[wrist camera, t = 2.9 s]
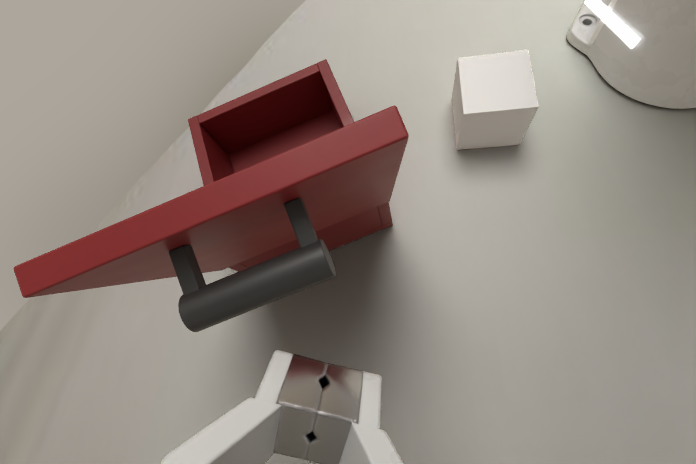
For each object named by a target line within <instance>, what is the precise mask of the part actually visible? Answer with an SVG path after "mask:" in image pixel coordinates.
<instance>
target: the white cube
mask: <svg viewBox="0 0 696 464" xmlns="http://www.w3.org/2000/svg"><path fill="white" fill-rule="evenodd" d="M538 107H539V106H538V100H537V95H536V89H535V84H534V78H533V73H532V67H531V62H530V56H529V51H528V49H525V50H517V51H509V52H501V53H493V54H485V55H477V56H469V57H461V58H458V60H457V67H456V73H455V80H454V87H453V94H452V110H453V120H454V131H455V141H456V150H461V149H473V148H486V147H498V146H510V145H519V144H520V142H521V140H522V138H523V136H524V134H525V132H526V130H527V129H528V127H529V125H530V123H531V121H532V119H533V117H534V115H535V113H536V111H537V109H538Z"/></svg>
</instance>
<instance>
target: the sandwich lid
mask: <svg viewBox="0 0 696 464" xmlns="http://www.w3.org/2000/svg"><path fill="white" fill-rule="evenodd" d="M407 140H408V133H407V130H406V128H405V125H404V123H403V121H402V118H401V116H400V114H399V111H398V109H397V107H396V106H392V107H389V108H387V109H385V110H382V111H380V112H377V113H375V114H373V115H370V116H368V117H366V118H363V119H361V120H359V121H356V122H354V123H352V124H349V125H347V126H345V127H342V128H340V129H337V130H335V131H333V132H330V133H328V134H326V135H323V136H321V137H319V138H316V139H314V140H312V141H309V142H307V143H304V144H302V145H300V146H297V147H295V148H293V149H290V150H288V151H286V152H283V153H281V154H279V155H276V156H274V157H272V158H269V159H267V160H264V161H262V162H260V163H257V164H255V165H253V166H250V167H248V168H246V169H243V170H241V171H239V172H236V173H234V174H232V175H229V176H227V177H224V178H222V179H220V180H217V181H215V182H213V183H210V184H208V185H206V186H203V187H201V188H199V189H196V190H194V191H191V192H189V193H187V194H184V195H182V196H180V197H177V198H175V199H173V200H170V201H168V202H166V203H163V204H161V205H159V206H156V207H154V208H151V209H149V210H147V211H144V212H142V213H140V214H137V215H135V216H133V217H130V218H128V219H126V220H123V221H121V222H118V223H116V224H114V225H111V226H109V227H107V228H104V229H102V230H100V231H97V232H95V233H93V234H90V235H88V236H86V237H83V238H81V239H78V240H76V241H74V242H71V243H69V244H67V245H64V246H62V247H60V248H57V249H55V250H53V251H50V252H48V253H45V254H43V255H41V256H38V257H36V258H34V259H31V260H29V261H27V262H24V263H22V264H20V265H17V266H15V267H14V272H15V275H16V277H17V281H18V284H19V287H20V290H21V293H22V296H23V297H25V298H27V297H35V296H42V295H49V294H56V293H63V292H70V291H77V290H84V289H92V288H99V287H106V286H113V285H120V284H127V283H134V282H141V281H148V280H155V279H162V278H169V277H176V276H177V277H178V280H179V283H180V286H181V288H182V291H183V295H182V296H181V298H180V300H179V313H180V316H181V319H182V321H183V323H184V324H185V326H186V327H187V328H188V329H189V330H191V331H193V332H198V331H201V330H203V329H206V328H208V327H211V326H213V325H216V324H218V323H221V322H223V321H226V320H228V319H231V318H233V317H236V316H238V315H241V314H243V313H246V312H248V311H251V310H253V309H256V308H258V307H261V306H263V305H266V304H268V303H271V302H273V301H276V300H278V299H281V298H283V297H286V296H288V295H291V294H293V293H296V292H298V291H301V290H303V289H306V288H308V287H311V286H313V285H316V284H318V283H321V282H323V281H326V280H328V279H331V278H333V277H335V276H336V270H335V267H334V264H333V261H332V258H331V256H330V253H329V251H328V249H327V247H326V245H325V243H324V241H323V240H322V239H318V237H317V234H316V231H318V230H321V229H323V228H326V227H328V226H331V225H333V224H335V223H338V222H340V221H343V220H345V219H348V218H350V217H353V216H355V215H357V214H360V213H362V212H365V211H367V210H370V209H372V208H375V207H377V206H379V205H382V204H384V203H387V202H389V201H390V198H391V195H392V191H393V188H394V184H395V181H396V178H397V174H398V171H399V167H400V164H401V161H402V157H403V154H404V151H405V147H406V144H407ZM296 239H297V240H298V243H299V245H300V247H298V248H296V249H294V250H291V251H289V252H286V253H284V254H281V255H279V256H276V257H274V258H271V259H269V260H267V261H264V262H262V263H259V264H257V265H254V266H252V267H249V268H247V269H245V270H242V271H240V272H237V273H235V274H232V275H230V276H227V277H225V278H222V279H220V280H218V281H215V282H213V283H210V284H208V285H206V283H205V281H204V278H203V275H202V273H205V272H212V271H219V270H223V269H226V268H228V267H231V266H233V265H235V264H238V263H240V262H243V261H245V260H248V259H250V258H252V257H255V256H257V255H260V254H262V253H265V252H267V251H270V250H272V249H274V248H277V247H279V246H282V245H284V244H287V243H289V242H292V241H294V240H296Z"/></svg>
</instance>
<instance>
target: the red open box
mask: <svg viewBox="0 0 696 464" xmlns="http://www.w3.org/2000/svg"><path fill="white" fill-rule="evenodd" d="M188 122H189V126H190V130H191V134H192V139H193V143H194V147H195V151H196V155H197V159H198V164H199V168H200V172H201V176H202V180H203V184H204V186H206V185H208V184H210V183H213V182H215V181H217V180H220V179H222V178H224V177H227V176H229V175H232V174H234V173H236V172H239V171H241V170H243V169H246V168H248V167H250V166H253V165H255V164H257V163H260V162H262V161H264V160H267V159H269V158H272V157H274V156H276V155H279V154H281V153H283V152H286V151H288V150H290V149H293V148H295V147H297V146H300V145H302V144H304V143H307V142H309V141H312V140H314V139H316V138H319V137H321V136H323V135H326V134H328V133H330V132H333V131H335V130H337V129H340V128H342V127H345V126H347V125H349V124H352V123H354V121H353V118H352V116H351V114H350V112H349V109H348V107H347V105H346V103H345V100H344V98H343V96H342V94H341V91H340V89H339V87H338V85H337V82H336V80H335V78H334V76H333V73H332V71H331V69H330V67H329V64H328V62H327V60H326V59H325V60H323V61H321V62H319V63H317V64H314V65H312V66H310V67H307V68H305V69H303V70H300V71H298V72H296V73H294V74H291V75H289V76H287V77H284V78H282V79H280V80H278V81H275V82H273V83H271V84H268V85H266V86H264V87H262V88H259V89H257V90H255V91H252V92H250V93H248V94H246V95H243V96H241V97H239V98H236V99H234V100H232V101H229V102H227V103H225V104H223V105H220V106H218V107H216V108H213V109H211V110H209V111H207V112H204V113H202V114H200V115H198V116H195V117H192V118H190V119H188ZM392 225H393V224H392V218H391V213H390V208H389V203H388V202H387V203H384V204H382V205H379V206H377V207H375V208H372V209H370V210H367V211H365V212H362V213H360V214H357V215H355V216H353V217H350V218H348V219H345V220H343V221H340V222H338V223H335V224H333V225H331V226H328V227H326V228H323V229H321V230H318V231H316V234H317V237H318V239H322V240H323V241H324V243H325V245H326V247H327V249H328V251H330V250H332V249H335V248H337V247H340V246H342V245H345V244H347V243H350V242H352V241H355V240H357V239H360V238H362V237H365V236H367V235H369V234H372V233H374V232H377V231H379V230H382V229H384V228H387V227H389V226H392ZM298 247H300V245H299V243H298V240H297V239H296V240H294V241H292V242H289V243H287V244H284V245H282V246H279V247H277V248H274V249H272V250H270V251H267V252H265V253H262V254H260V255H257V256H255V257H252V258H250V259H248V260H245V261H243V262H240V263H238V264H235V265H233V266H231V267H229V268H231V269H233V270H236V271H238V272H240V271H242V270H245V269H247V268H249V267H252V266H254V265H257V264H259V263H262V262H264V261H267V260H269V259H271V258H274V257H276V256H279V255H281V254H284V253H286V252H289V251H291V250H294V249H296V248H298Z"/></svg>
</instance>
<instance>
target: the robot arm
mask: <svg viewBox="0 0 696 464" xmlns="http://www.w3.org/2000/svg"><path fill="white" fill-rule="evenodd" d="M567 40H568V41H569V43H570V44H572V45H573V46H574V47H575V48H577V49H578V50H580V51H581V52H583V53H584V54H586V55H587V56H588V57H589V58H590V60H591V61H592V63H593V64H594V66H595V68H596V69H597V71H598V72H599V74H600V75H601V76H602V77H603V78H604V79H605V80H606V81H607V82H608V83H609V84H610V85H611V86H612V87H614V88H615V89H616V90H618V91H619V92H621V93H623V94H624V95H626V96H628V97H630V98H632V99H635V100H637V101H640V102H643V103H646V104H649V105H654V106H658V107H665V108H675V109H689V108H696V0H585V1H584V3H583V5H582V7H581V8H580V10H579V12H578V14H577V16H576V18H575V20H574V21H573V23H572V25H571V27H570V29H569V31H568V33H567ZM381 388H382V378H381V375H378V374H373V373H369V372H365V371H363V372H362V371H361V370H357V369H352V368H348V367H344V366H340V365H335V364H331V363H325V362H322V361H318V360H315V359H311V358H307V357H304V356H300V355H296V354H291V353H288V352H284V351H280V350H277V349H276V350H275V352H274V353H273V355H272V358H271V360H270V362H269V365H268V367H267V370H266V372H265V374H264V377H263V379H262V382H261V384H260V386H259V389H258V391H257V394H256V396H255V398H251V397H248V398H247V399H245V400H244V401H243V402H241V403H240V404H238V405H237V406H235V407H234V408H233V409H231V410H230V411H228V412H227V413H225V414H224V415H223V416H221V417H220V418H218V419H217V420H215V421H214V422H212V423H211V424H210V425H208V426H207V427H205V428H204V429H202V430H201V431H200V432H198V433H197V434H195V435H194V436H192V437H191V438H190V439H188V440H187V441H185V442H184V443H182V444H181V445H179V446H178V447H177V448H175V449H174V450H172V451H171V452H169V453H168V454H167V455H165V456H164V458H163V460H162V461H161V463H160V464H264V463H265V462H266V461H267V460H268V459H269V458H270V457H271V456H272V455H273V453H277V454H282V455H286V456H291V457H296V458H300V459H306V460H308V461H312V462H315V463H319V464H404V463H403V461H402V459H401V458H400V456H399V454H398V452H397V450H396V449H395V447H394V445H393V443H392V441H391V440H390V438H389V436H388V434H387V433H386V431H384V430H381V429H380V417H381Z"/></svg>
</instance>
